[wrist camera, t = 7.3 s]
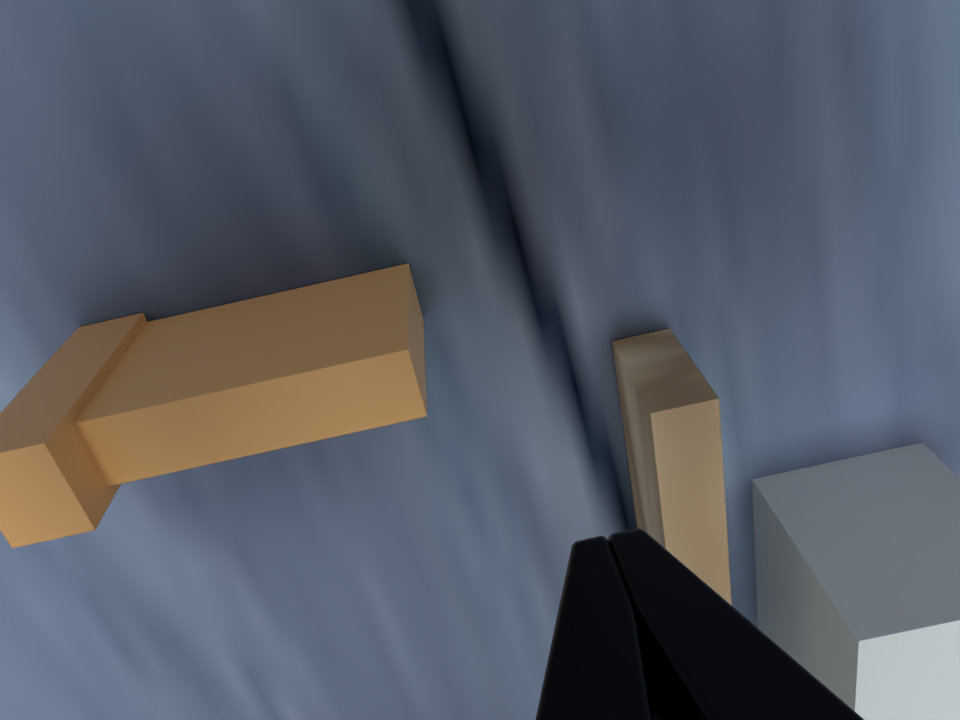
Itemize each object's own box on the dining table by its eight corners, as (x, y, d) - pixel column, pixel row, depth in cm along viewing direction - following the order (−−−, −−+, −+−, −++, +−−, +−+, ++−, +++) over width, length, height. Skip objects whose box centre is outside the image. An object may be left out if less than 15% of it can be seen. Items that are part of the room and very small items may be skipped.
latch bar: (114, 397, 19) (12, 548, 14) (78, 327, 18) (-46, 462, 13) (425, 328, 19) (431, 456, 14) (406, 253, 18) (404, 363, 13)
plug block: (757, 660, 26) (848, 841, 20) (750, 477, 22) (859, 640, 17) (902, 630, 26) (1031, 804, 20) (920, 440, 22) (1084, 594, 16)
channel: (664, 731, 27) (697, 831, 24) (612, 340, 19) (650, 413, 16) (998, 661, 27) (1075, 753, 23) (1078, 238, 19) (1207, 291, 16)
